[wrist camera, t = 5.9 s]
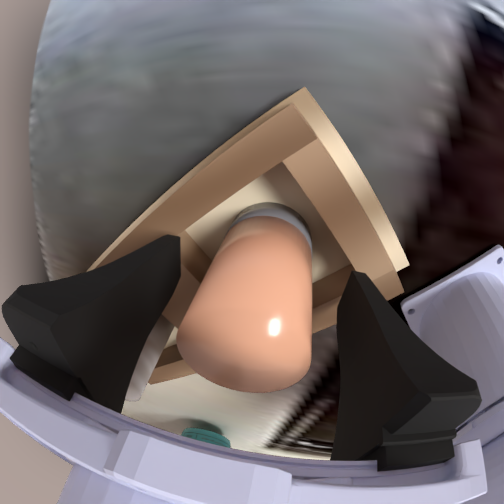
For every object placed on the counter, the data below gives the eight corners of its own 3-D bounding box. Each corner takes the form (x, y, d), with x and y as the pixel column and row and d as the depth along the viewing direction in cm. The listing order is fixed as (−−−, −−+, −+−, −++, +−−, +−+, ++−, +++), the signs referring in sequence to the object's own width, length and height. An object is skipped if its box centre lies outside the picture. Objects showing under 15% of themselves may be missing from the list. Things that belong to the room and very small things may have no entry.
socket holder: (403, 252, 14) (446, 354, 8) (161, 359, 23) (131, 426, 17) (304, 87, 11) (308, 75, 5) (78, 280, 20) (27, 341, 14)
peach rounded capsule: (326, 254, 14) (334, 374, 8) (260, 286, 15) (231, 400, 9) (281, 185, 12) (257, 283, 6) (212, 228, 14) (150, 332, 8)
